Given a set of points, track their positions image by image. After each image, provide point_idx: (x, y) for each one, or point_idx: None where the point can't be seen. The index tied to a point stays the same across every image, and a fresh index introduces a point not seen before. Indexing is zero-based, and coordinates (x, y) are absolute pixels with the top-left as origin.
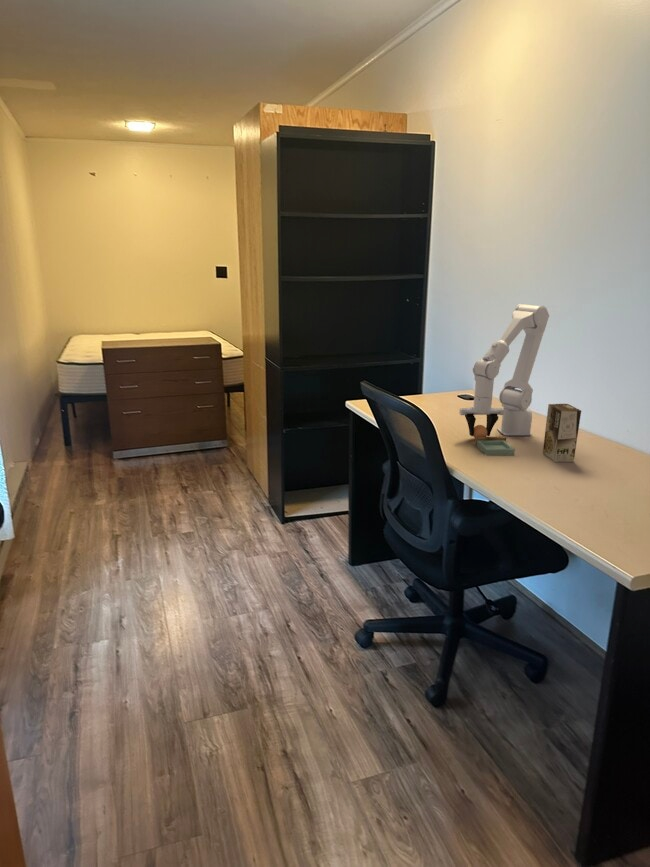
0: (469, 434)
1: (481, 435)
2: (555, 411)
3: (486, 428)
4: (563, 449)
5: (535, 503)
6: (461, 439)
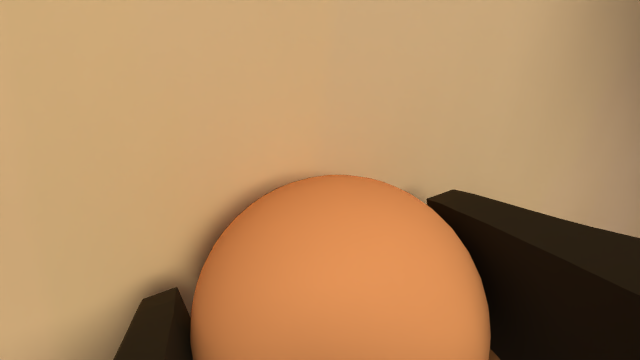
0: (138, 308)
1: None
2: None
3: (500, 247)
4: None
5: None
6: (9, 340)
